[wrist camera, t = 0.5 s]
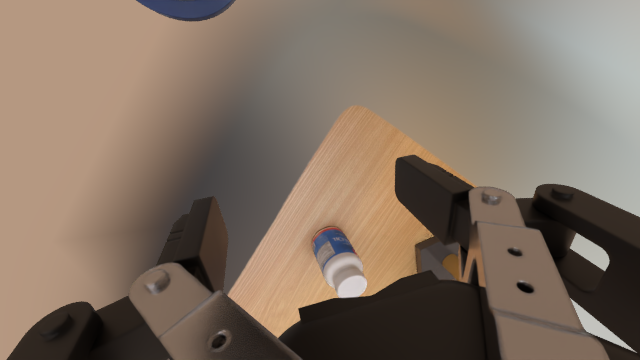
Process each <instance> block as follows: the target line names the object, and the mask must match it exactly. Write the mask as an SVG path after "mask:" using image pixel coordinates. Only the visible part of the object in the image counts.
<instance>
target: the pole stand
mask: <svg viewBox="0 0 640 360" xmlns="http://www.w3.org/2000/svg"><path fill="white" fill-rule="evenodd" d="M415 247H416V259H417V272H418V273H421V272H424V271H428V270H431V271H432V272H433V273H434V274H435V275H436V277H437V278H438V279H439V280H452V279H455V278H454V277H453V276H452V275H451V274H450V273H449V272H448V271H447V270H446V269H445V268H444V267H443V265H442V262H443V260H444V259H445V258H446V257H447V256H448V255H450V254H455V255H456V256H458V250H459V243H454V244H450V245H446V246H444V245H443V244H442V243H441V242H440V241H439V240H438V239H437V238H436V237H432V238H430V239H428V240H426V241H423V242H421V243H419V244H417V245H415Z"/></svg>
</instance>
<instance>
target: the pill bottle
mask: <svg viewBox="0 0 640 360" xmlns="http://www.w3.org/2000/svg"><path fill="white" fill-rule="evenodd" d="M312 249H313V252H314V254H315V256H316V259H317V261H318V264H319V266H320V269H321V271H322V273H323V276H324V278H325V280H326V282H327V283H328V285H330V286H331V287H333V288H335V290H336V292H337V295H338V296H339V297H340V298H348V297H358V296H360V295H361V294H362V293H363V292H364V291H365V289H366V287H367V280H366V278H365V276H364V274H363V273H362V272H363V264H362V262H361V260H360V258H359V256H358V255H357V253H356V252H355V250H354V249H353V247H352V245H351V244H350V242H349V241H348V239H347V237H346V236H345V234H344V233H343V232H342V231H341V230H340V229H339V228H336V227H327V228H324V229H322V230H320V231H319V232H318V233H317V234H316V235H315V236H314V238H313V240H312Z"/></svg>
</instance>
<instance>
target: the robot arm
mask: <svg viewBox="0 0 640 360" xmlns="http://www.w3.org/2000/svg"><path fill="white" fill-rule="evenodd" d="M182 1H190V0H182ZM395 193H396V196H397V198H398V200H399V201H400V202H401V203H402V204H403V205H404V206H405V207H406V208H407V209H408V210H409V211H410V212H411V213H412V214H413V215H414V216H415V217H416V218H417V219H418V220H419V221H420V222H421V223H422V224H423V225H424V226H425V227H426V228H427V229H428V230H429V231H430V232H431V233H432V234H433V235H434V236H435V237H436V238H437V239H438V240H439V241H440V242H441V243H442V244H443V245H444V246H446V245H450V244H454V243H459V250H458V259H459V281H455V280H439V279H438V278H437V277H436V275H435V274H434V273H433V272H432V271H431V270H428V271H424V272H421V273H418V274H414V275H411V276H407V277H404V278H401V279H399V280H397V281H396V282H394V283H392V284H391V285H389V286H387V287H386V288H384V289H382V290H381V291H379V292H377V293H376V294H374V295H372V296H365V297H348V298H333V299H329V300H326V301H322V302H319V303H316V304H312V305H309V306H305V307H302V308H299V314H300V319H301V320H300V321H299V322H297V323H295V324H294V325H292V326H291V327H290V328H288V329H287V330H286V331H285V332H284V333H283V334H282V335H281V336H280V337H279V338H277V337H276V336H274V335H273V334H272V333H271V332H270V331H268V330H267V329H266V328H265V327H264V326H263V325H261V324H260V323H259V322H258V321H257V320H255V319H254V318H253V317H252V316H251V315H249V314H248V313H247V312H246V311H245V310H244V309H242V308H241V307H240V306H239V305H238V304H236V303H235V302H234V301H233V300H232V299H231V298H229V297H228V296H227V295H226V294H225V293H223V287H224V278H225V268H226V257H227V247H228V234H227V229H226V226H225V223H224V220H223V217H222V214H221V211H220V208H219V205H218V202H217V200H216V198H215V197H214V196H212V197H207V198H203V199H198V200H194V202H193V205H192V208H191V211H190V213H189V214H185V215H182V216H181V217H180V218H179V220H177V221H176V222H175V223H174V225H173V227H172V230H171V232H170V235H169V237H168V239H167V242H166V244H165V246H164V249H163V251H162V253H161V256H160V258H159V260H158V263H157V265H156V266H155V267H154V268H151V269H150V270H148V271H146V272H145V273H143V274H142V275H141V276H140V277H138V278H137V279H136V280H135V282H134V283H133V284H132V286H131V287H130V290H129V293H128V296H126V297H124V298H122V299H120V300H118V301H116V302H114V303H112V304H110V305H108V306H106V307H103V308H101V309H99V310H97V311H95V310H94V308H93V307H92V306H91V304H89V303H88V302H76V303H71V304H68V305H66V306H63V307H61V308H59V309H57V310H55V311H53V312H52V313H50V314H48V315H47V316H45V317H44V318H42V319H41V320H40V321H39V322H37V323H36V324H35V325H34V326H33V327H32V328H31V329H30V330H29V331H28V332H27V333H26V334H25V335H24V337H23V338H22V339H21V341H20V342H19V343H18V345H17V346H16V348H15V349H14V350H13V352H12V353H11V354H10V356H9V357H8V359H7V360H167V359H168V358H169V359H170V360H640V217H638V216H636V215H634V214H631V213H629V212H627V211H625V210H623V209H620V208H618V207H616V206H614V205H611V204H609V203H607V202H605V201H603V200H600V199H598V198H596V197H594V196H592V195H589V194H587V193H585V192H583V191H580V190H578V189H576V188H573V187H569V186H565V185H558V184H544V185H540V186H538V187H537V188H536V191H535V194H534V197H533V198H518V199H515V197H514V196H513V195H512V194H510V193H509V192H507V191H504V190H501V189H498V188H494V187H476V188H474V187H472V186H471V185H469V184H467V183H466V182H464V181H463V180H461V179H459V178H458V177H456V176H453V174H451V173H449V172H446V170H444V169H443V168H441V167H439V166H437V165H434V164H431V163H427V162H426V161H424V160H423V159H421V158H419V157H418V156H416V155H409V156H404V157H400V158H397V160H396V164H395ZM576 233H578V234H580V235H581V236H583V237H585V238H586V239H588V240H590V241H592V242H593V243H595V244H597V245H598V246H600V247H601V248H603V249H604V250H605V251H606V253H607V254H608V256H609V260H610V262H609V265H608V267H607V269H606V271H603V270H602V269H600V268H599V267H597V266H596V265H594V264H593V263H591V262H590V261H588V260H587V259H585V258H584V257H582V256H581V255H579V254H578V253H576V252H574V251H573V250H571V249H570V246H571V244H572V241H573V239H574V237H575V234H576ZM570 298H571V299H572V300H573V301H575V302H576V303H577V304H578V305H580V306H581V307H582V308H583V309H584V310H586V311H587V312H588V313H589V314H591V315H592V316H593V317H594V318H595V319H597V320H598V321H599V322H600V323H602V324H603V325H604V326H605V327H607V328H608V329H609V330H610V331H611V332H613V333H614V334H615V335H616V336H618V337H619V338H620V339H621V340H622V341H624V342H625V343H626V344H627V345H628V346H630V347H631V348H632V349H633V350H635V351H636V352H637V353H636V352H633V351H631V350H628V349H626V348H624V347H621V346H619V345H617V344H614V343H612V342H610V341H607V340H605V339H602V338H600V337H598V336H595V335H592V334H591V333H588V332H586V330H585V329H584V328H583V326H582V324H581V322H580V320H579V317H578V315H577V313H576V311H575V308H574V306H573V304H572V301H571V299H570Z"/></svg>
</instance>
